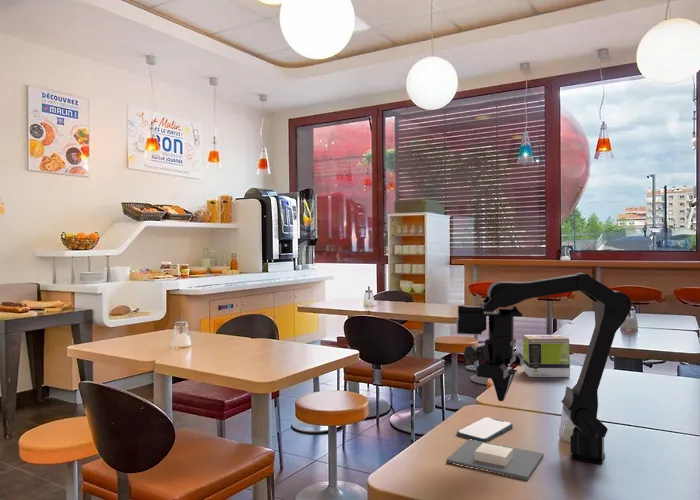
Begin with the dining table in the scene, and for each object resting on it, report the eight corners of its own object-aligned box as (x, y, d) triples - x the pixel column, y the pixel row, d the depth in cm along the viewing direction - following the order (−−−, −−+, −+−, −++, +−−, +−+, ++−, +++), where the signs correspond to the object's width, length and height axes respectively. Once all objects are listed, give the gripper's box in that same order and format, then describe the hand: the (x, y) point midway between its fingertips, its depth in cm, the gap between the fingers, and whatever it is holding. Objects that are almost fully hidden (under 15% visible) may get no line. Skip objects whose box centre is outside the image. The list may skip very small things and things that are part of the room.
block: (483, 451, 128) (474, 459, 123) (483, 442, 128) (474, 451, 123) (513, 457, 124) (505, 466, 119) (513, 448, 124) (505, 457, 119)
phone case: (485, 446, 135) (514, 428, 147) (485, 439, 135) (514, 423, 147) (454, 437, 141) (485, 421, 153) (454, 431, 141) (485, 416, 153)
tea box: (562, 372, 211) (562, 334, 211) (570, 378, 201) (570, 338, 201) (522, 371, 213) (522, 333, 213) (528, 377, 203) (528, 337, 203)
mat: (543, 456, 127) (543, 453, 127) (527, 480, 114) (527, 476, 114) (468, 442, 136) (468, 439, 136) (446, 462, 123) (446, 459, 123)
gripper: (480, 327, 141) (480, 387, 141) (454, 337, 125) (454, 405, 125) (524, 330, 135) (524, 393, 135) (502, 342, 119) (502, 413, 119)
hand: (501, 400), depth 129 cm, fingers closed
